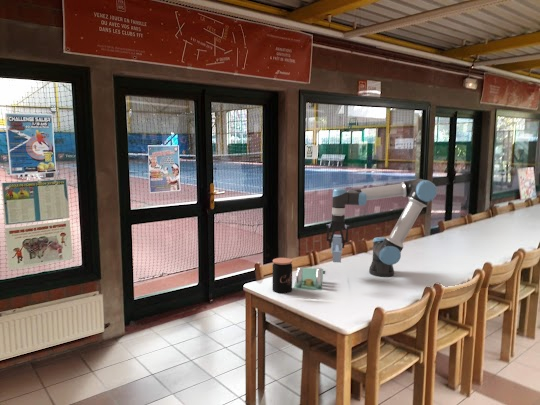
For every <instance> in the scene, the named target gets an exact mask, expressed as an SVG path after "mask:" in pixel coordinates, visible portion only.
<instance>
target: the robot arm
mask: <svg viewBox="0 0 540 405" xmlns="http://www.w3.org/2000/svg"><path fill="white" fill-rule="evenodd" d="M437 193H438V189H437V186H436V184H435V183H433V182H432V181H430V180H427V179H422V178H415V179H410V180H406V181H402V182H401V183H397V184H389V185H388V184H387V185H381V186H373V187H366V188H360V189H349V190H346V188H337V187H336V188H334V189H333V190H332V200H331V202H332V203H331V204H332V206H331V222H330V223H329V224H328V223H327V224H326V230H327V231H326V241H327V242H328V243H329V245H328V247H329V248H330V254H332V248H333V236H334V235H335V232H336V231H340V235H341V238H342V242H341V255H343V249H345V243H348V242H349V230H350V225H348V224H346V223H345V218H346V217H345V214H346V206H365V205H367V201H373V200H380V199H388V198H396V197H403V198H408V202H407V203H406V205H405V207H404V209H403V211H402V212H401V215H400V216H399V218H398V220H397V222H396V224H395V225H394V227H393V229H392V230H391V232H390V234H389V236H386V237H385V236H384V237H383V236H379V237H378V236H377V237H374V238H373V240H372V259H371V260H372V261H371V264H370V266H369V270H368V272H369V274H370V275H373V276H376V277H383V278H385V277H387V278H389V277H392V276H394V275H395V269H394V266H393V265H395V264H397V263H399V261H400V259H401V252H402V251H403V249H404V241H405V240H406V239H407V236H408V235H409V233H410V231H411V229H412V228H413V225H414V224H415V222H416V220H417V219H418V217H419V215H420V214H421V211H422V210H423V209H424V208H426V207H427V206H428V205H429V204H430V202H431V201H433V200H434V199H435V198H436V197H437ZM331 227H332V232H331V234H330V228H331ZM344 228H345V238H344V233H343V229H344Z"/></svg>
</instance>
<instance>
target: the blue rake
mask: <svg viewBox="0 0 540 405" xmlns="http://www.w3.org/2000/svg"><path fill="white" fill-rule="evenodd" d="M332 242H333V248H332V253H331V255H332V263H342V254H341V242H342V238H341V234H334V236H333V239H332Z"/></svg>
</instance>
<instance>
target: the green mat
mask: <svg viewBox="0 0 540 405" xmlns="http://www.w3.org/2000/svg"><path fill="white" fill-rule="evenodd" d="M302 268H303V282H302V285H301V288H297V287H296V281H295V283H294V287H293V290H307V291H310V290H311V291H323V279H324V268H321V269H322V283H321V289H316V271H317V268H312V267H311V268H309V267H302ZM305 279H312V280H314V285H313V286H311V287H310V286H305V285H304V280H305Z"/></svg>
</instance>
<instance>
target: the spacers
mask: <svg viewBox="0 0 540 405" xmlns="http://www.w3.org/2000/svg"><path fill="white" fill-rule="evenodd" d="M303 268H304V267H301V266H299V267H298V266H297V270H296V272H295V273H296V274H295V282H296V287H297V288H301V285H302V282H303ZM316 269H317V271H316V289H321V283H322V284H323V282H322V269H323V268H321V267H320V268H319V267H318V268H316Z"/></svg>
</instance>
